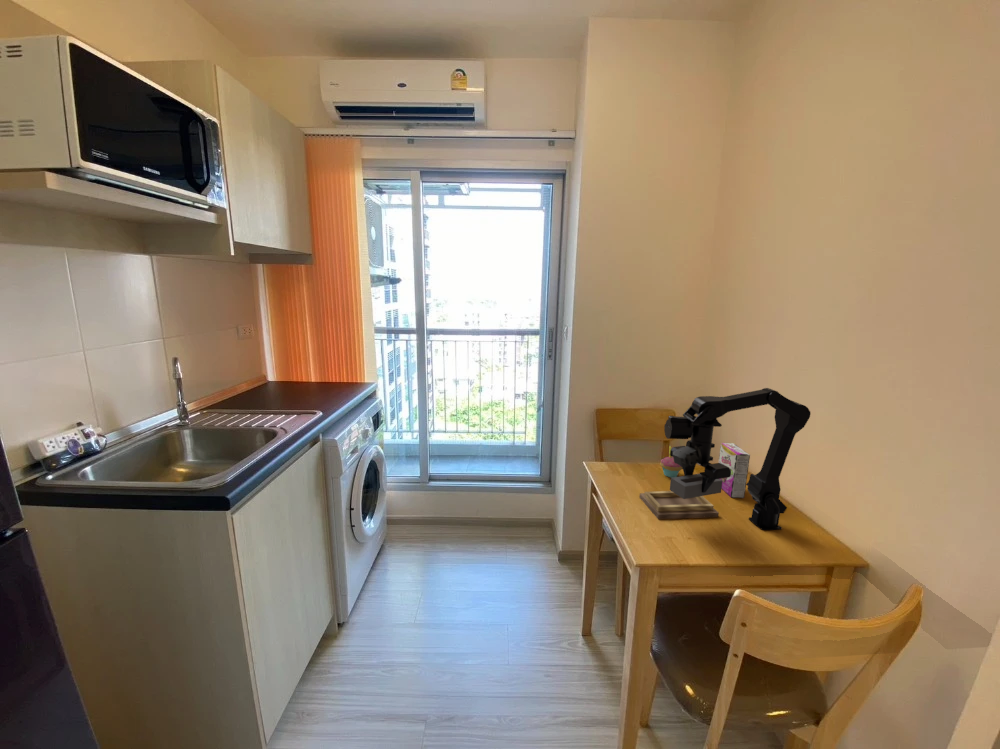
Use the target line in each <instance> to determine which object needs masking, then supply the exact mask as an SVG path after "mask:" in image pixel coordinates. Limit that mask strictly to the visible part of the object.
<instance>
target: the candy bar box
mask: <svg viewBox="0 0 1000 749" xmlns="http://www.w3.org/2000/svg"><path fill="white" fill-rule="evenodd" d="M718 456H719V457H718V463H721V464H723V465H725V466H727V467H729V468H730V469H731V476H730V477H727V478H721V480H722V489H721V490H722V491H723V492H725V493H726V494H727V496H729V497H730V498H733V499H745V496H746V495H745V494H746V488H747V487H746V486H747V485H746V484H747V480H748V472H749V466H750V465H749V464H750V459H751V454H749V453H748V452H747V451H745V450H744V449H742V448H741V447H739V446H738V445H737V444H735V443H734V442H720V449H719V454H718Z"/></svg>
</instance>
